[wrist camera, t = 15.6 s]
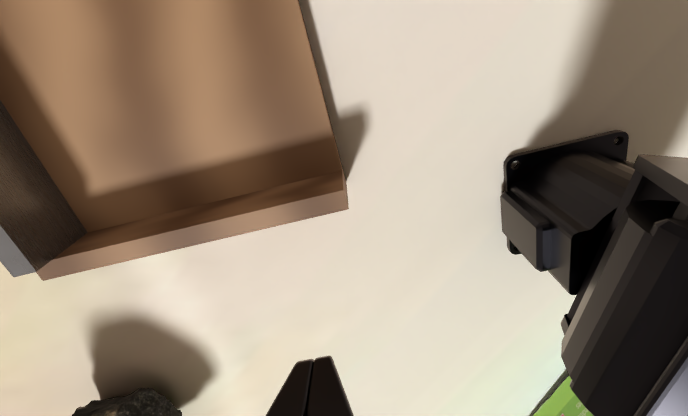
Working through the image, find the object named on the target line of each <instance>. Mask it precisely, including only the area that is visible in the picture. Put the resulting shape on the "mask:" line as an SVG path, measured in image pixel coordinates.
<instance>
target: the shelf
mask: <svg viewBox="0 0 688 416" xmlns="http://www.w3.org/2000/svg"><path fill="white" fill-rule="evenodd" d="M0 100H1V102H2V104H3V105H4V107H5V108H6V110H7V111H8V113H9V114H10V116H11V117H12V119H13V120H14V122H15V123H16V125H17V126H18V128H19V129H20V131H21V132H22V134H23V135H24V137H25V138H26V140H27V141H28V143H29V144H30V146H31V147H32V149H33V150H34V152H35V154H36V155H37V157H38V158H39V160H40V161H41V163H42V164H43V166H44V167H45V169H46V170H47V172H48V173H49V175H50V176H51V178H52V179H53V181H54V182H55V184H56V185H57V187H58V188H59V190H60V191H61V193H62V194H63V196H64V197H65V199H66V200H67V202H68V204H69V205H70V207H71V208H72V210H73V211H74V213H75V214H76V216H77V217H78V219H79V220H80V222H81V223H82V225H83V226H84V228H85V229H86V231H87V232H88V233H86V234H85V235H84V236H83V237H81V238H80V239H79V240H77V241H76V242H75V243H73V244H72V245H71V246H70V247H68V248H67V249H66V250H64V251H63V252H62V253H60V254H59V255H58V256H57V257H55V258H54V259H53V260H51V261H50V262H49V263H47V264H46V265H45V266H43V267H42V268H41V269H40V270H38V271H37V272H36V273H37V274H38V275H39V276H40V278H41V279H42V280H43V281H44V280H48V279H52V278H57V277H61V276H65V275H69V274H74V273H78V272H82V271H86V270H91V269H95V268H99V267H104V266H108V265H112V264H116V263H121V262H125V261H129V260H133V259H138V258H142V257H146V256H150V255H155V254H159V253H163V252H168V251H172V250H176V249H180V248H185V247H189V246H193V245H197V244H202V243H206V242H210V241H215V240H219V239H223V238H227V237H232V236H236V235H240V234H244V233H249V232H253V231H257V230H261V229H266V228H270V227H274V226H279V225H283V224H287V223H291V222H296V221H300V220H304V219H308V218H313V217H317V216H321V215H326V214H330V213H334V212H338V211H343V210H347V209H349V208H348V197H347V185H346V179H345V176H344V172H343V168H342V164H341V160H340V157H339V153H338V149H337V145H336V141H335V137H334V134H333V130H332V126H331V122H330V118H329V115H328V111H327V107H326V103H325V99H324V96H323V92H322V88H321V84H320V80H319V76H318V73H317V69H316V65H315V61H314V57H313V54H312V50H311V46H310V42H309V38H308V35H307V31H306V27H305V23H304V19H303V15H302V12H301V8H300V4H299V0H0Z"/></svg>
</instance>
